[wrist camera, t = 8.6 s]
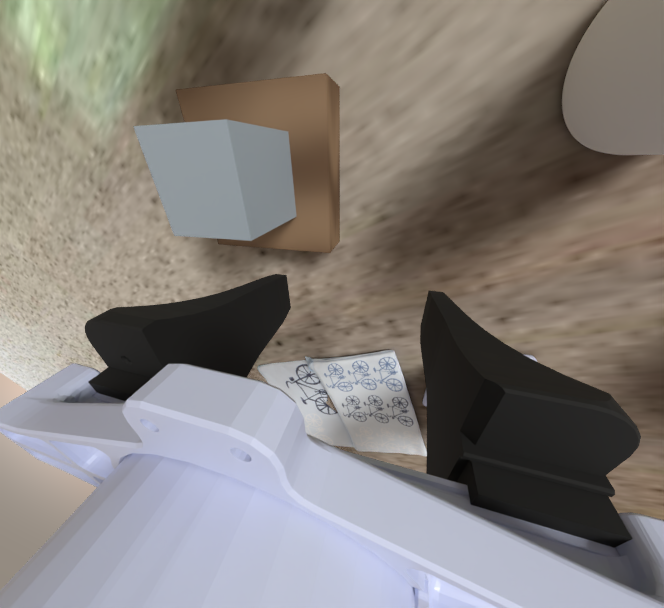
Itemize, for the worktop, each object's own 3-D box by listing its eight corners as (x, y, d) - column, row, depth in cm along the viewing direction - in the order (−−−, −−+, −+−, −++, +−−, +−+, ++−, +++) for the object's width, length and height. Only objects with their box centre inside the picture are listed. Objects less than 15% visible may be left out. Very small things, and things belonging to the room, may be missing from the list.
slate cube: (296, 216, 17) (251, 240, 12) (237, 214, 18) (174, 235, 13) (288, 131, 14) (226, 119, 10) (219, 135, 16) (133, 126, 11)
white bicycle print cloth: (428, 446, 33) (429, 463, 31) (305, 437, 41) (300, 450, 39) (398, 341, 25) (397, 355, 23) (252, 356, 33) (244, 367, 31)
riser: (339, 241, 20) (330, 252, 18) (239, 234, 23) (218, 244, 20) (339, 86, 15) (325, 73, 13) (208, 98, 17) (175, 89, 15)
